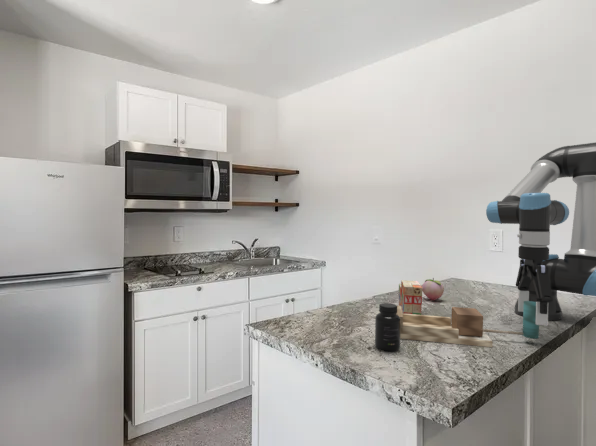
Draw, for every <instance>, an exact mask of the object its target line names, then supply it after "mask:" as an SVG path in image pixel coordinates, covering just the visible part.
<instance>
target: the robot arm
mask: <svg viewBox="0 0 596 446" xmlns="http://www.w3.org/2000/svg"><path fill="white" fill-rule="evenodd" d="M560 178H561V179H562V178H572V181H573V183H575V184H576V192H575V193H576V194H575V202H574V210H573V212H574V213H573V220H572V229H571V230H572V231H571V240H570V249H569V250H568V251H566V252H565V253H564V256H563V258H560V257H559V255H558V254H555V253H554V254H553V253H550V248H549V247H548V246H550V244H551V243H550V241H551V232H550V229H551V226H557V225H561V224H563V223H564V222H566V221H567V219H568V218H569V215H570V210H569V206H568V205H567V204H566V203H564V202H562V201H561V200H557V199H554V200H553V199H551V194H550V193H548V192H543V191H544V190H545V188H546V187H548V185H549V184H550V183H554V182H555V181H556V180H558V179H560ZM485 211H486V214H485V215H486V219H487V221H489V222H490V223H493V224H501V225H502V224H503V225H505V224H507V225H508V224H509V225H510V224H512V225H513V224H514V225H515V224H516V225H519V228H518V234H516V236H517V238H518V243H519V247H518V253H517V254H518V255H517V256H518V258H519V268H518V273H517V277H516V282H515V287H517V290H518V292H517V293H518V297H517V299H516V302H515V305H514V311H513V312H514V313H515V314H517V315H519V316H521V317H523V306H524V301H533V302H536V325H539V326H548V325H549V321H558V320H562V319H563V311H562V308H561V305H560V302H559V300H558V299H559V298H558V292H564V293H570V294H577V295H583V296H586V297H588V296H591V297H596V142H588V143H580V144H574V145H565V146H561V147H558V148H555V149H553V150H550V151H549V152H547V153H546V154H544V155H542V156H541V157H540V158H538V159H537V160H536V161H534V163H533V164H532V165H531V167H530V171H529V172H527V174H526V175H525V176H524V177H523V178H522V179H521V180H520V181H519V182H518V183H517V184H516V186H514V187H513V189H511V190H510V192H509V193H508V194H507V195H505V197H504V198H503V199H502V200H496V201H491V202H489V203H488V204H487V206H486V210H485Z"/></svg>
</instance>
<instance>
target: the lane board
mask: <svg viewBox="0 0 596 446" xmlns="http://www.w3.org/2000/svg"><path fill="white" fill-rule="evenodd" d="M396 314H397V315H398V316H399V317H400V319H401V329H400V340H402V339H403V340H412V341H420V342H421V341H422V342H434V343H442V344H443V343H444V344H455V345H465V346H475V347H477V346H478V347H485V348H493V346H494V344H493V340H492V338H490V336H489V335H488V334H487V332H483V337H480V336H469V335H459V330H458V329H455V328H453V327H452V326H451V319H452V317H451V316H440V315H425V314H422V315H416V314H404V313H402V308H401V306H399V305H397V313H396Z"/></svg>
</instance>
